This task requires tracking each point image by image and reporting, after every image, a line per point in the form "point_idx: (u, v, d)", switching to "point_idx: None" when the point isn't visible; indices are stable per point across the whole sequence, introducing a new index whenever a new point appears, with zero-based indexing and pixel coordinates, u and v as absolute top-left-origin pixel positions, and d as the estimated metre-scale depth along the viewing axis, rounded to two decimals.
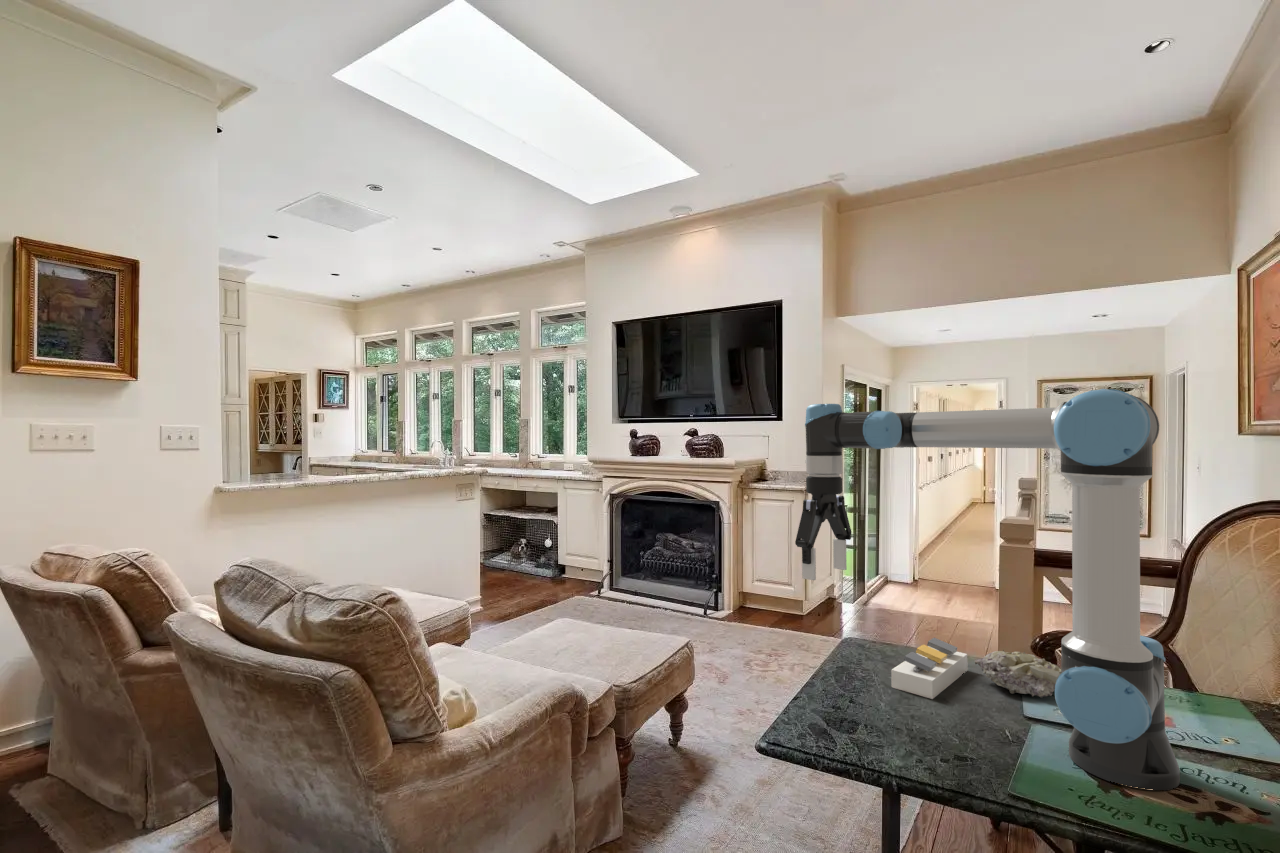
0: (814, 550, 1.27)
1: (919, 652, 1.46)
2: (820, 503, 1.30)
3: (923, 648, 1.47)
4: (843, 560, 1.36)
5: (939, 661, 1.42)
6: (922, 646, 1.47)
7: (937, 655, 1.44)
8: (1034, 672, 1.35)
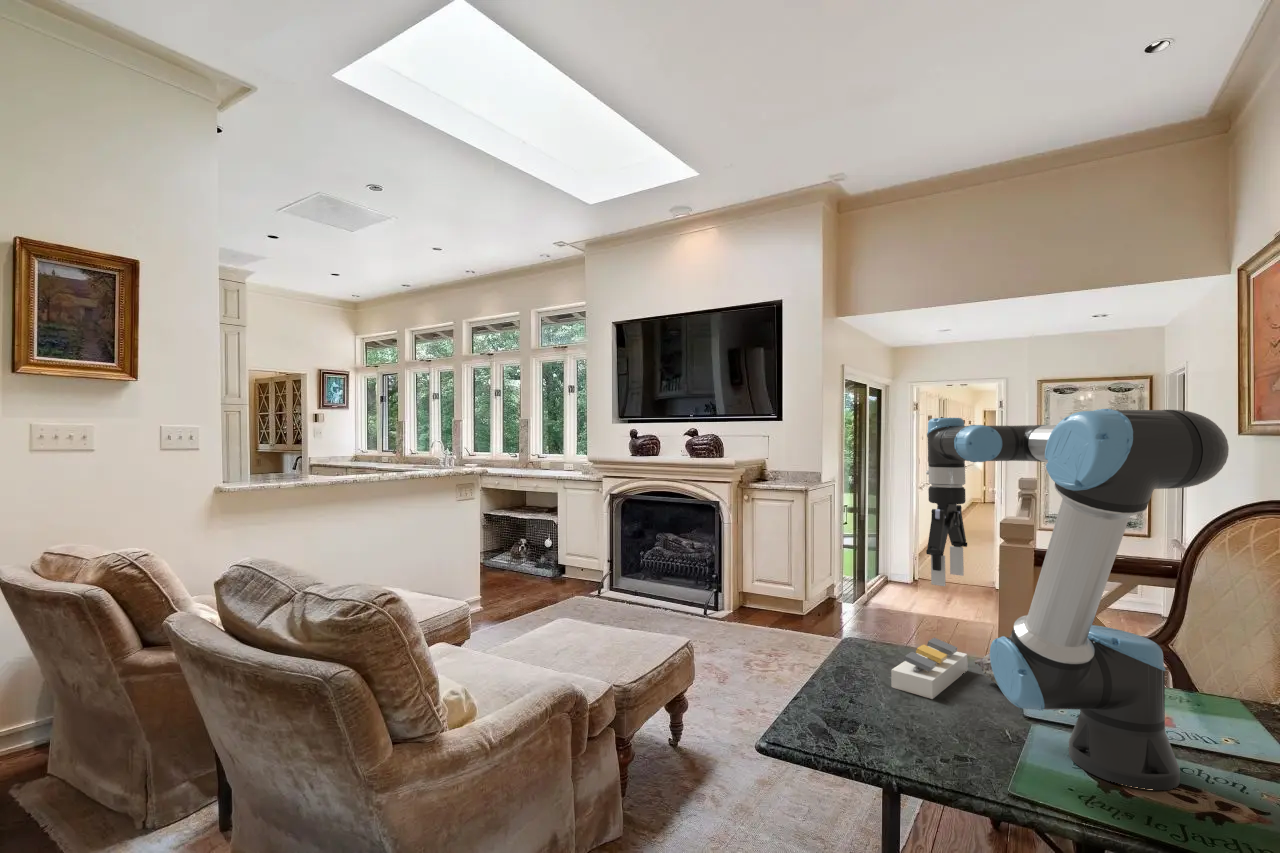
0: (944, 557, 1.33)
1: (919, 652, 1.46)
2: (947, 512, 1.36)
3: (923, 648, 1.47)
4: (961, 566, 1.43)
5: (939, 661, 1.42)
6: (922, 646, 1.47)
7: (937, 655, 1.44)
8: None
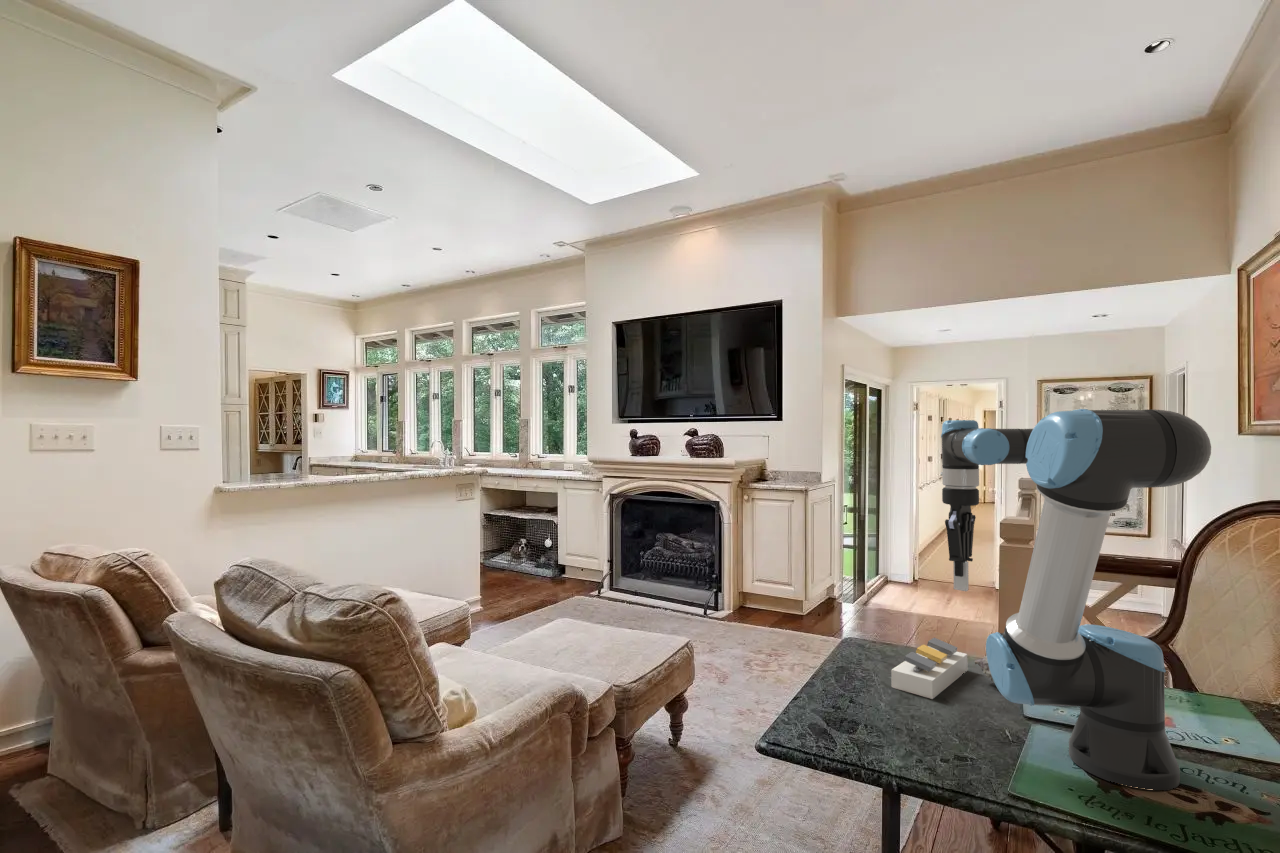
0: (966, 564, 1.40)
1: (919, 652, 1.46)
2: (960, 515, 1.38)
3: (923, 648, 1.47)
4: None
5: (939, 661, 1.42)
6: (922, 646, 1.47)
7: (937, 655, 1.44)
8: None
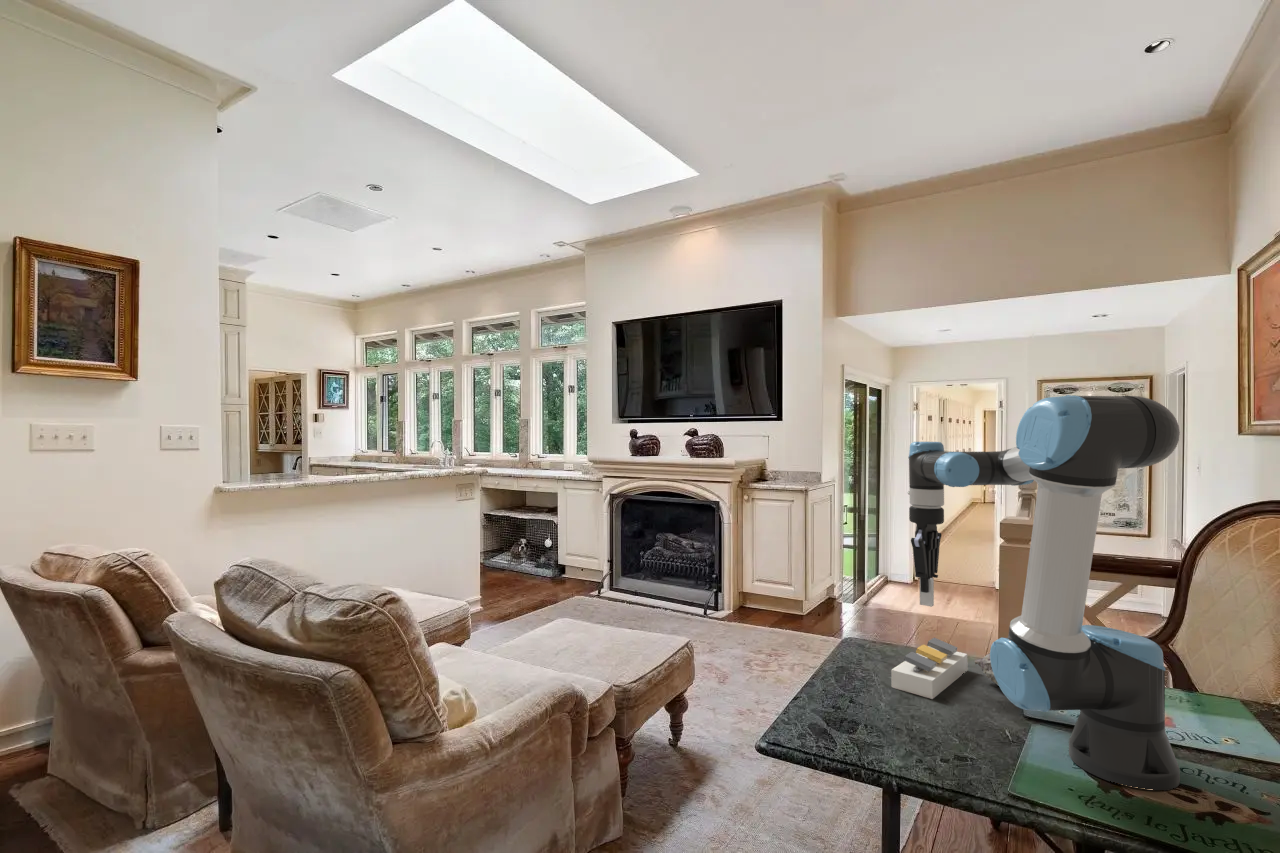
0: (931, 580, 1.46)
1: (919, 652, 1.46)
2: (925, 534, 1.43)
3: (923, 648, 1.47)
4: None
5: (939, 661, 1.42)
6: (922, 646, 1.47)
7: (937, 655, 1.44)
8: None
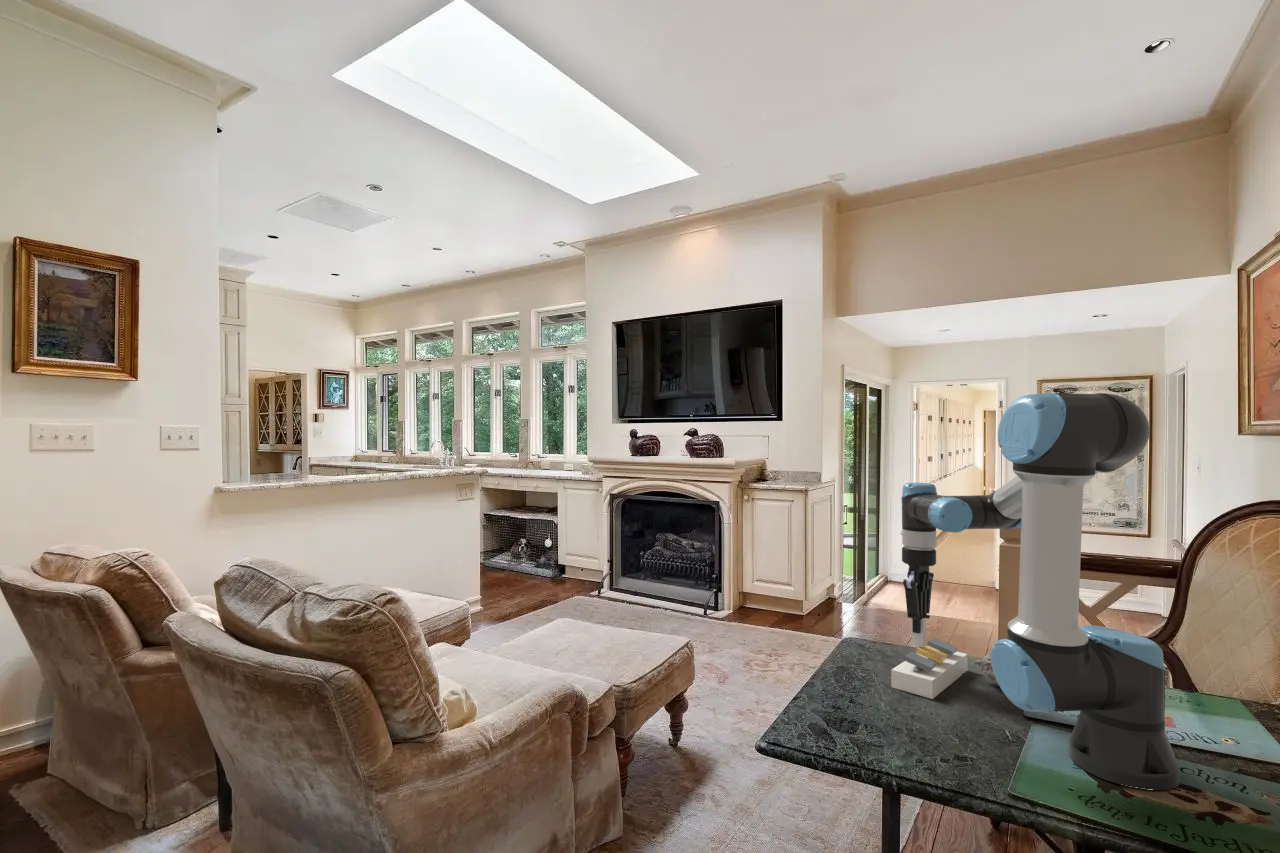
0: (923, 621, 1.47)
1: (919, 652, 1.46)
2: (917, 575, 1.45)
3: (923, 648, 1.47)
4: None
5: (939, 661, 1.42)
6: None
7: (937, 655, 1.44)
8: None
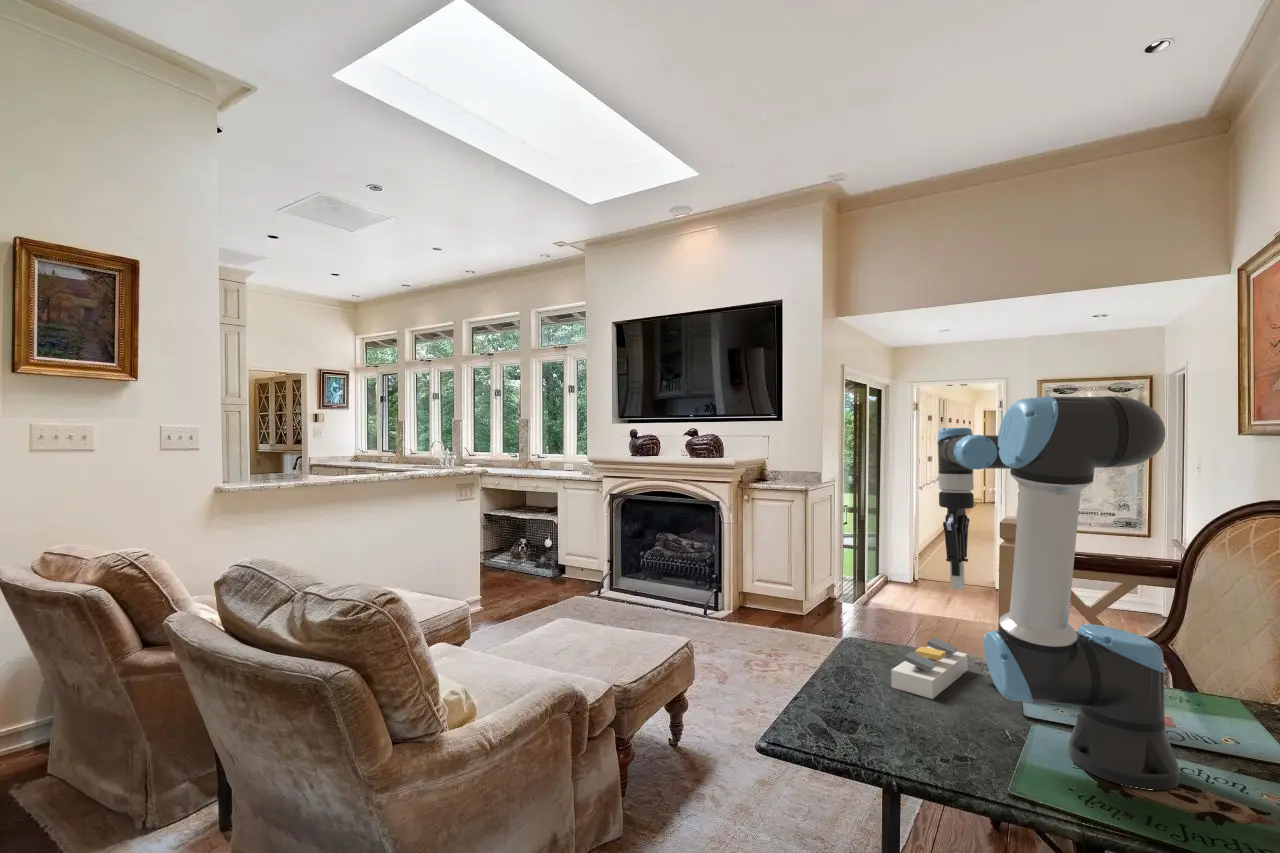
0: (962, 564, 1.48)
1: None
2: (956, 517, 1.46)
3: (921, 649, 1.47)
4: None
5: (938, 658, 1.42)
6: (920, 648, 1.48)
7: (935, 653, 1.44)
8: None
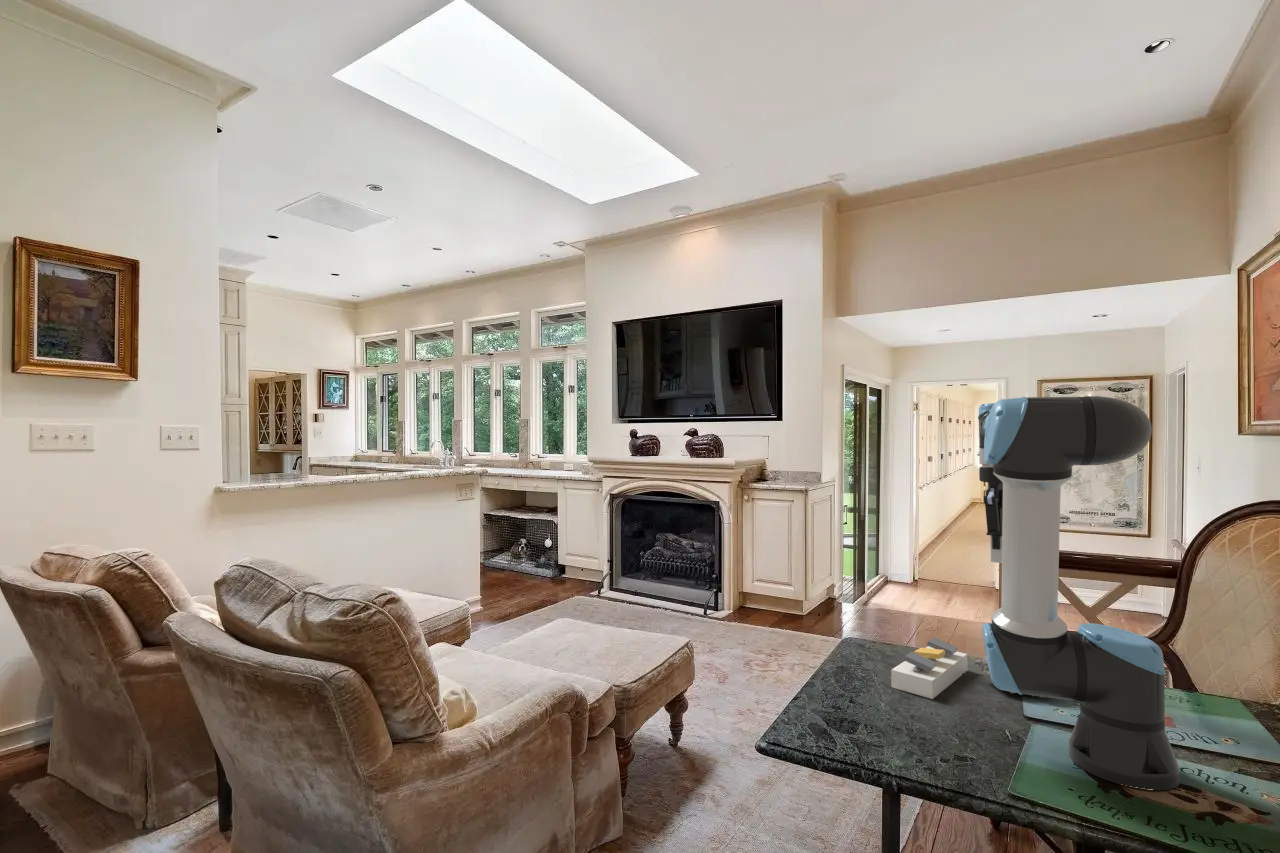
0: None
1: None
2: (997, 492, 1.48)
3: (920, 650, 1.47)
4: (1002, 554, 1.50)
5: (938, 657, 1.43)
6: (919, 649, 1.48)
7: (934, 652, 1.44)
8: None
